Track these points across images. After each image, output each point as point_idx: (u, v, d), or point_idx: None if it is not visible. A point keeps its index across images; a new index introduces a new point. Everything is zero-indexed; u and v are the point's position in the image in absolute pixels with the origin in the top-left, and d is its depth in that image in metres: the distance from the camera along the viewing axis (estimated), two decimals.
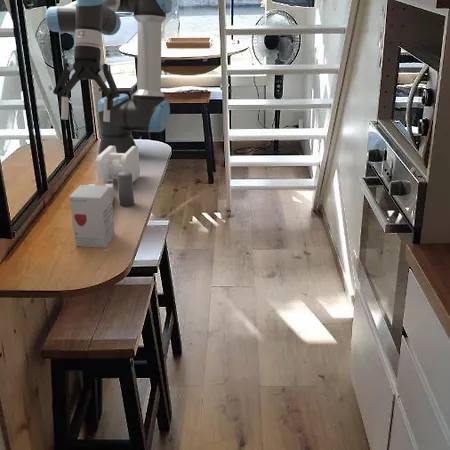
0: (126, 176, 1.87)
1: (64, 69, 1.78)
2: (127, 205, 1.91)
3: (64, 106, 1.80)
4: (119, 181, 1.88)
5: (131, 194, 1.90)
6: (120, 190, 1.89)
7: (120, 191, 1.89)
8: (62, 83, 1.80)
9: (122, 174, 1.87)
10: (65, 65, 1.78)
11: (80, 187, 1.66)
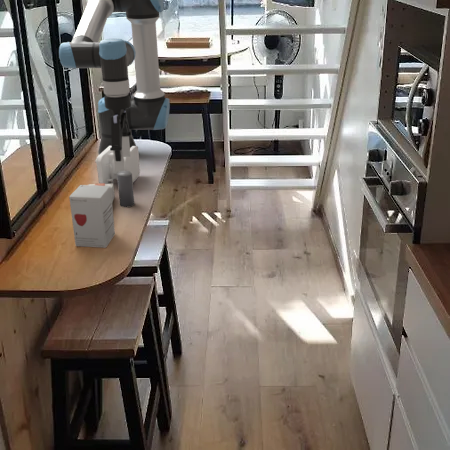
0: (126, 176, 1.87)
1: None
2: (127, 205, 1.91)
3: (122, 145, 1.91)
4: (119, 181, 1.88)
5: (131, 194, 1.90)
6: (120, 190, 1.89)
7: (120, 191, 1.89)
8: None
9: (122, 174, 1.87)
10: None
11: (80, 187, 1.66)
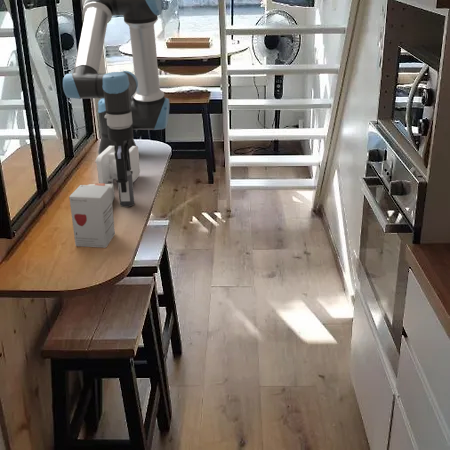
0: None
1: None
2: (127, 205, 1.91)
3: None
4: None
5: (131, 194, 1.90)
6: None
7: None
8: None
9: None
10: None
11: (80, 187, 1.66)
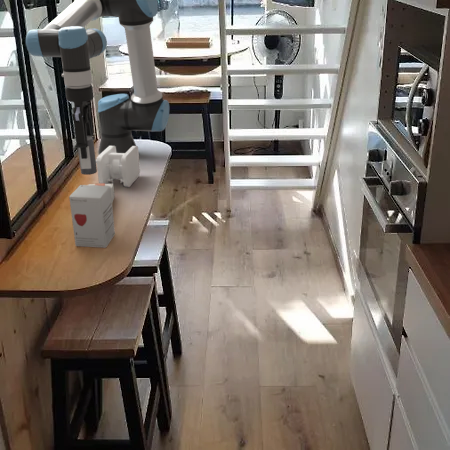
0: None
1: None
2: (88, 172, 1.77)
3: None
4: None
5: (93, 160, 1.76)
6: None
7: None
8: None
9: None
10: None
11: (80, 187, 1.66)
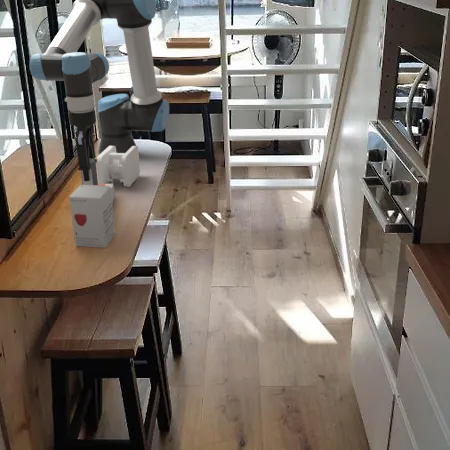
0: None
1: None
2: None
3: None
4: None
5: (95, 183, 1.79)
6: None
7: None
8: None
9: None
10: None
11: (80, 187, 1.66)
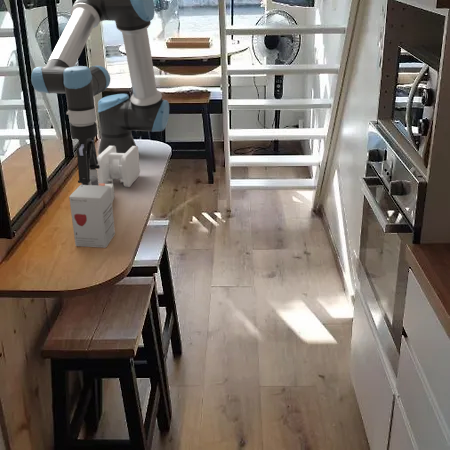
0: (91, 182, 1.79)
1: None
2: None
3: None
4: None
5: None
6: None
7: None
8: None
9: None
10: None
11: (80, 187, 1.66)
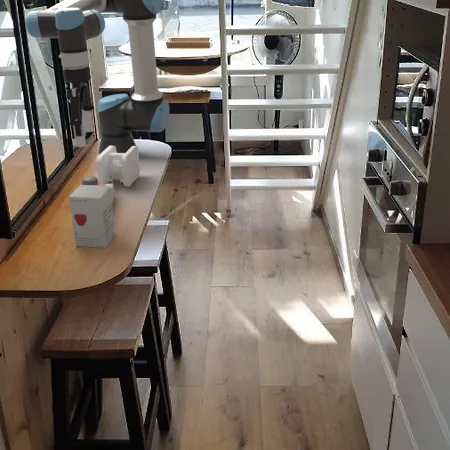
0: (91, 182, 1.79)
1: None
2: None
3: (84, 120, 1.85)
4: None
5: None
6: None
7: None
8: None
9: (87, 180, 1.79)
10: None
11: (80, 187, 1.66)
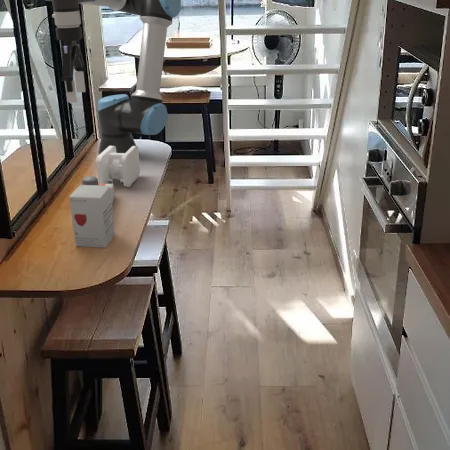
0: (91, 182, 1.79)
1: None
2: None
3: (76, 80, 1.94)
4: None
5: None
6: None
7: None
8: None
9: (87, 179, 1.79)
10: None
11: (80, 187, 1.66)
